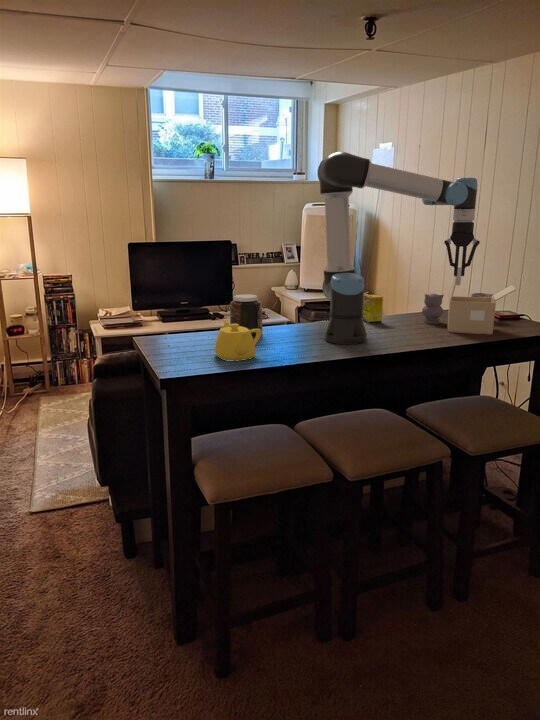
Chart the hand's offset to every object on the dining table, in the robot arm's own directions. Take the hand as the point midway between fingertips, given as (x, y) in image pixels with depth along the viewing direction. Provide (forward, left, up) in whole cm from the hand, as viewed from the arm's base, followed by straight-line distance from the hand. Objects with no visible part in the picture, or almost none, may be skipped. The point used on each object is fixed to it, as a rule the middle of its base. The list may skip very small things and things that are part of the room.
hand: (458, 284), depth 211 cm
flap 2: (+16, 0, -2) cm, 17 cm away
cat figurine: (-9, +11, -18) cm, 22 cm away
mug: (+10, +23, -18) cm, 31 cm away
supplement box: (-33, +6, -18) cm, 37 cm away
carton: (+5, 0, -17) cm, 18 cm away
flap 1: (-1, 0, -1) cm, 2 cm away
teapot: (-69, -59, -18) cm, 92 cm away
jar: (-76, -31, -18) cm, 84 cm away
